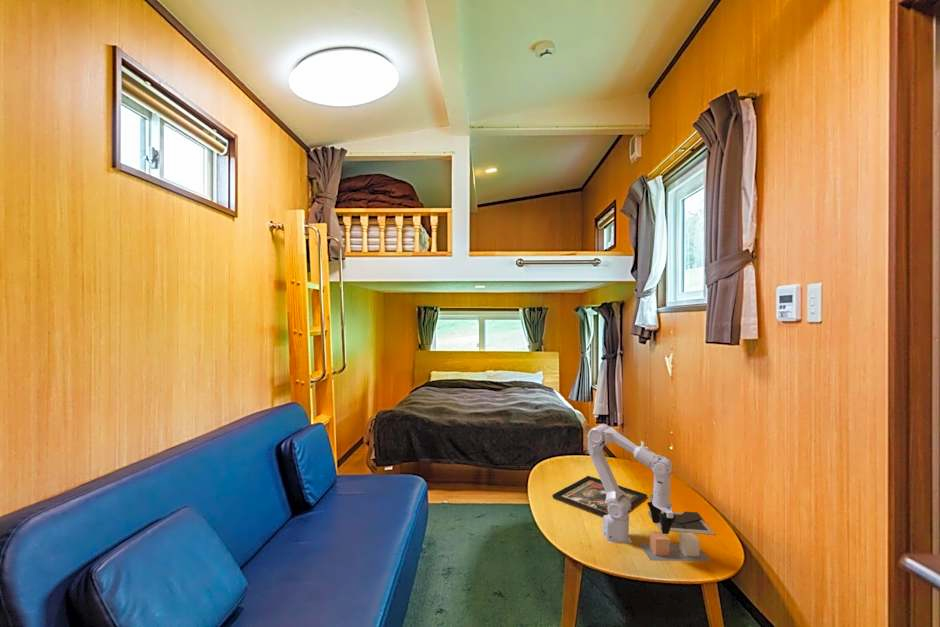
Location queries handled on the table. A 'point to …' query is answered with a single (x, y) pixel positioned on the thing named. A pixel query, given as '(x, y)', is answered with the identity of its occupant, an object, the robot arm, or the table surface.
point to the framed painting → (593, 496)
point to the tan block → (689, 544)
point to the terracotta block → (659, 544)
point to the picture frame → (687, 523)
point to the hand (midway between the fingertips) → (660, 528)
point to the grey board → (673, 554)
